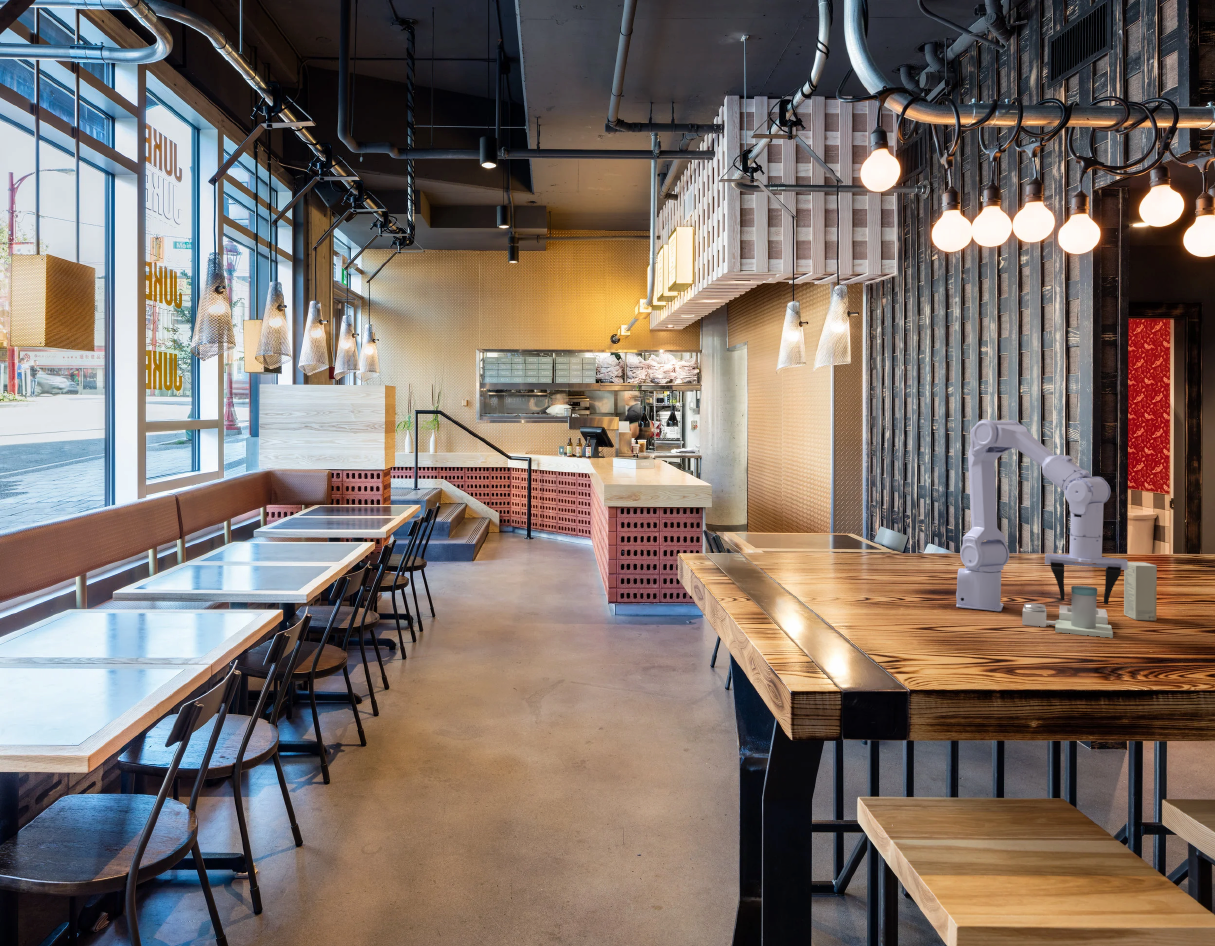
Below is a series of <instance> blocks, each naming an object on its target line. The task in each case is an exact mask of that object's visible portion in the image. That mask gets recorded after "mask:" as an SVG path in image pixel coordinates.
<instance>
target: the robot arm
mask: <svg viewBox="0 0 1215 946" xmlns="http://www.w3.org/2000/svg"><path fill="white" fill-rule="evenodd" d="M969 432H970V434H969V435H970V445H969V446H970V447H969V450H968V454H967V458H968V459H967V460H968V461H967V462H968V481H969V485H968V486H969V498H970V499H969V501H970V503H969V504H970V507H969V508H970V526H971V528H970V530H968V532H966V534H964V536H963V537H962V546H961V548H960V555H959V556H960V560H961V562H962V564H963V565H964V566H965V567H963V568H962V567H960V568H958V570H957V577H956V593H955V594H956V595H955V598H956V605H955V606H956V608H963V609H973V610H984V611H990V612H991V611H994V612H1002V610H1003V607H1004V603H1002V602H1001V598H1002V597H1001V596H1002V595H1001V594H1002V570H1004V566H1005V565H1007V564H1008V562H1009V560H1010V550H1009V547H1008V544H1007V543H1006V536H1005V534H1004V533H1002V531H1000V530H999V528H998V519H997V518H998V516H997V495H996V493H997V492H996V475H995V462H996V460H997V459H998V458H1000V457H1001V455H1003V454H1005V453H1006V452H1008V451H1010V450H1012V449H1016V450H1018V451H1019V452H1020V453H1022V454H1023V455H1025V456H1026V457H1027V458H1029V459H1030V460H1032V461H1033V462H1035V463H1036V464H1037V465H1039V466H1040V467H1041V469H1042V471H1041V472H1042V475H1043V476H1044V477H1045V478H1046V479H1048V480H1049V481H1050V482H1052V483H1053V485H1055V486H1056V487H1057V488H1059V489H1060V490H1062V492H1063V493H1064V497H1065V499H1066V501H1067V502H1068V505H1069V506H1068V507H1069V508H1068V509H1069V511H1070V527H1069V528H1070V533H1069V553H1068V554H1060V553H1057V554H1056V553H1045V555H1044V564H1045V565H1050V569H1051V572H1052V574H1053V575H1054V578H1055V581H1056V584H1057V586H1058V590H1059V596H1060V600H1061V601H1065V594H1066V593H1065V566H1076V567H1086V568H1088V567H1089V568H1090V567H1091V568H1101V569H1105V579H1104V580H1105V582H1104V583H1105V585H1104V593H1103V604H1104V605H1109V601H1110V597H1111V593H1112V591H1113V589H1114V587H1115V584H1116V582H1117V581H1118V579H1119V577H1120V576H1121V574H1122V571H1121V570H1127V565H1128V562H1129V561H1128V559H1126V558H1116V557H1115V558H1114V557H1105V556H1103V534H1104V533H1103V532H1104V531H1103V530H1104V529H1103V526H1104V504H1105V503H1107V502H1108V500H1109V498H1110V497H1111V487H1110V484H1108V482H1107V480H1105V478H1103V477H1101V476H1092V475H1091V474H1090V472H1089V471H1088V470H1087V469H1083V468H1081V467H1080V466H1079V465H1077V464H1076V463H1075V462H1074V461H1073V459H1074V458H1072V457H1071V456H1070V455H1064V454H1057V455H1056V454H1054V453H1053V452H1051V450H1050V449H1048V448H1047V447H1046V446H1045V445H1044V444H1042V443H1041V442H1040V441H1039V440H1038V439H1036V438H1035V437H1034V436H1033V435H1032V434H1031V433H1030V432H1029V431H1028V428H1027V427H1026V426H1024V425H1022V424H1021V423H1020V422H1018V420H1014V419H1009V420H990V419H982V420H979V421H978V422H977V423H976V424H975V425H974V426H973V427H972V428H971V429H970V431H969Z"/></svg>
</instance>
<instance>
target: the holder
mask: <svg viewBox="0 0 1215 946" xmlns="http://www.w3.org/2000/svg"><path fill="white" fill-rule="evenodd" d="M1071 608H1072V605H1060V604H1059V611H1058V615H1059V616H1058V617H1059V618H1058V620H1064V621H1071ZM1021 617H1022V622H1021V624H1022V626H1031V627H1039V626H1040V627H1039V628H1046V627H1047V626H1049V625H1056V620H1047V609H1046V608H1045V611H1043V612H1036V611H1028V610H1025V609H1024V606H1023V608H1022V615H1021ZM1108 619H1109V617H1108V613H1107V609H1104V608H1103V609H1102V608H1096V624H1103V625H1109V624H1108V623H1109V622H1108Z"/></svg>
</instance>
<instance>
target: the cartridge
mask: <svg viewBox="0 0 1215 946" xmlns="http://www.w3.org/2000/svg"><path fill="white" fill-rule="evenodd" d="M1070 591H1071V592H1070V593H1071V606H1072V608H1071V625H1072V626H1074V627H1078V628H1086V629H1093V628H1096V609H1097V596H1098V588H1097V587H1095V586H1089V585H1071V590H1070Z"/></svg>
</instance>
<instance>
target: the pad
mask: <svg viewBox="0 0 1215 946" xmlns="http://www.w3.org/2000/svg"><path fill="white" fill-rule="evenodd" d="M1055 621H1056V625H1055V626H1054V627H1055V628H1054V629H1055V631H1054V632H1055V633H1059V632H1062V633H1061V634H1069V633H1070V635H1080V636H1087V635H1089V636H1088V637H1090V636H1091V637H1096V636H1100V637H1099V638H1105V637H1110V638H1109V639H1113V637H1114V631H1113V629H1112V628H1113V627H1112V625H1110V624H1107V625H1103V624H1096V628H1093V629H1086V628H1078V627H1074V626H1072V625H1071V621H1064V620H1059V619H1055Z"/></svg>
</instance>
